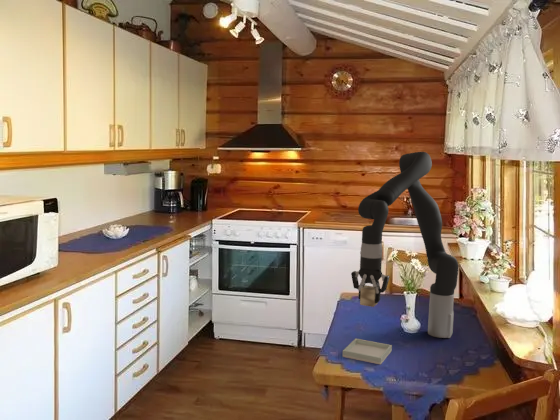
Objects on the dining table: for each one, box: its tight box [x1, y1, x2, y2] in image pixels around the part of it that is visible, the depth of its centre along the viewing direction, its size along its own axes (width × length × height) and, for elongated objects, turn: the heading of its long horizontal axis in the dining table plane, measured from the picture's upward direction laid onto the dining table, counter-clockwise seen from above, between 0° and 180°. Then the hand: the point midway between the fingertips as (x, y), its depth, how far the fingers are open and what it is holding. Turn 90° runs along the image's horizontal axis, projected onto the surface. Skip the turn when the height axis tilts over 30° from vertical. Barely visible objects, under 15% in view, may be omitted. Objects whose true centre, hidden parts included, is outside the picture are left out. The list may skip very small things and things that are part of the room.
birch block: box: [359, 284, 379, 308], centre depth 198 cm, size 5×5×6 cm
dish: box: [342, 338, 393, 365], centre depth 201 cm, size 14×14×2 cm
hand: (369, 301), depth 198 cm, fingers closed on birch block, 5 cm apart
